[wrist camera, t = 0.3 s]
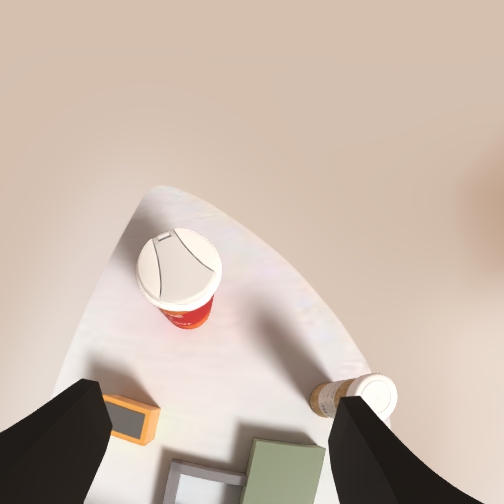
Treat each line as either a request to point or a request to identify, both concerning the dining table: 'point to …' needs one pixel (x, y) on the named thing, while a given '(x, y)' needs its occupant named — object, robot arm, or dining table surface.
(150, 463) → the dining table surface
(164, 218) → the dining table surface
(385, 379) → the sprinkles bottle
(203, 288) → the paper cup
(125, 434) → the chute block
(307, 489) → the green block with knob
